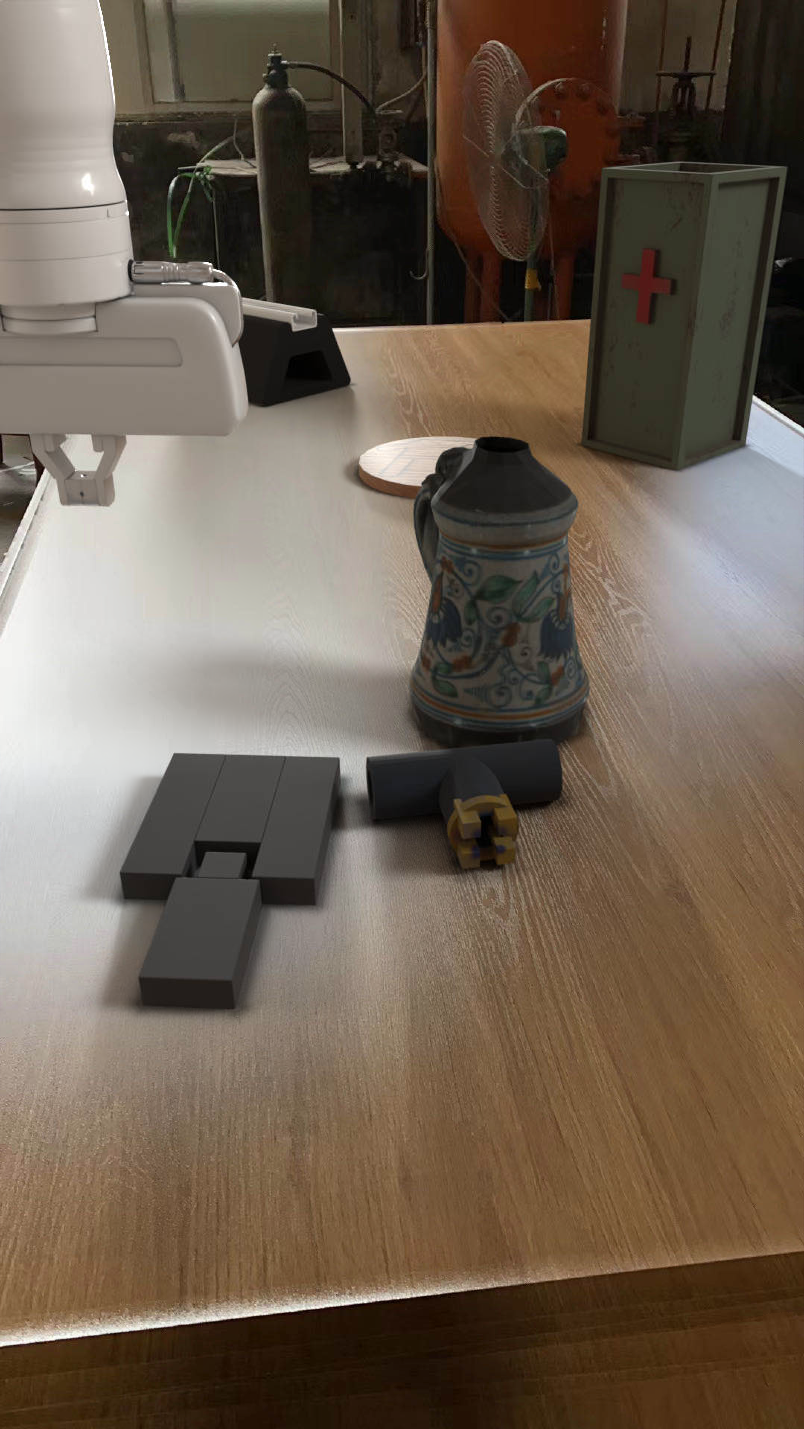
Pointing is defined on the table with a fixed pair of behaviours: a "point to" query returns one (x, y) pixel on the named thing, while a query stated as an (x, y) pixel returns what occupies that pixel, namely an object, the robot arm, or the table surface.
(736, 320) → the first aid box
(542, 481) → the beer stein
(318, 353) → the device stand
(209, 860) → the black tile
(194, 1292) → the table surface
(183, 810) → the base pad
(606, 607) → the table surface
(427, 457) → the trivet
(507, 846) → the pipe connector
